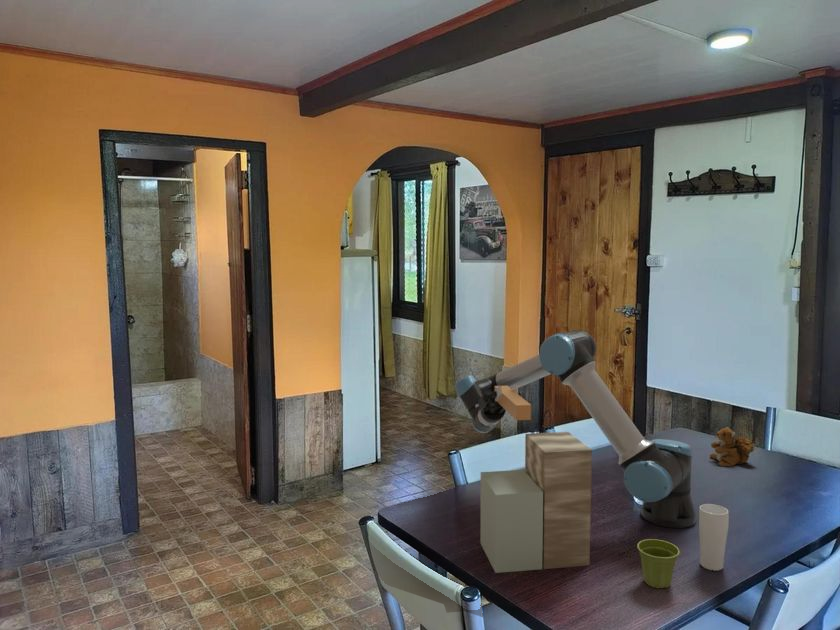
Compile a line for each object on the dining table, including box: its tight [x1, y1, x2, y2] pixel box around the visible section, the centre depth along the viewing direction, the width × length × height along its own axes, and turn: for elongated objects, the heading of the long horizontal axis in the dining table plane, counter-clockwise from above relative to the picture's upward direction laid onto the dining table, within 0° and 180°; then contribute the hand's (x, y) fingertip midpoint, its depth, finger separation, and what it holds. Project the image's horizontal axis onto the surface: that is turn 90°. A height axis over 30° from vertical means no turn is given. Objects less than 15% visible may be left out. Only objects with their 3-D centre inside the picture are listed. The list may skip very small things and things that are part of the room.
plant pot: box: [636, 538, 680, 589], centre depth 150 cm, size 9×9×9 cm
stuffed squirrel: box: [709, 426, 756, 467], centre depth 233 cm, size 10×14×13 cm
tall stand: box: [524, 431, 593, 570], centre depth 164 cm, size 16×12×30 cm
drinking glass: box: [698, 503, 730, 572], centre depth 157 cm, size 7×7×15 cm
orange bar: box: [494, 386, 532, 421], centre depth 177 cm, size 24×4×4 cm, turn 7°
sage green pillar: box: [480, 469, 543, 574], centre depth 163 cm, size 16×12×20 cm
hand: (508, 389), depth 180 cm, fingers closed on orange bar, 4 cm apart
